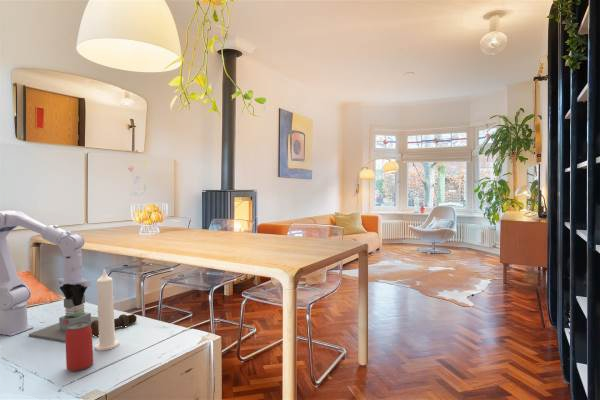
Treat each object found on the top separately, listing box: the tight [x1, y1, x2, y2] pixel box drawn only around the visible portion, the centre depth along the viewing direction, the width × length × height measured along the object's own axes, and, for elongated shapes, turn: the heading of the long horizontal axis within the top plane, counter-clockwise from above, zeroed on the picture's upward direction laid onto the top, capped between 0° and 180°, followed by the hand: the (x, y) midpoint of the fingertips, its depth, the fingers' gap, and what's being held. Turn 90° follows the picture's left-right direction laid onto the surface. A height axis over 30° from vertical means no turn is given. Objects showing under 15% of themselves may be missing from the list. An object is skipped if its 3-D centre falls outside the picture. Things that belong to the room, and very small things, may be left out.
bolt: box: [91, 313, 138, 337], centre depth 133 cm, size 6×5×15 cm
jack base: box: [28, 311, 98, 343], centre depth 134 cm, size 20×20×5 cm
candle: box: [94, 268, 121, 352], centre depth 118 cm, size 7×7×25 cm
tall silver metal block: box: [63, 294, 86, 318], centre depth 134 cm, size 4×6×8 cm
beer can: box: [64, 322, 94, 372], centre depth 105 cm, size 7×7×12 cm
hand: (74, 304), depth 134 cm, fingers closed on tall silver metal block, 3 cm apart
